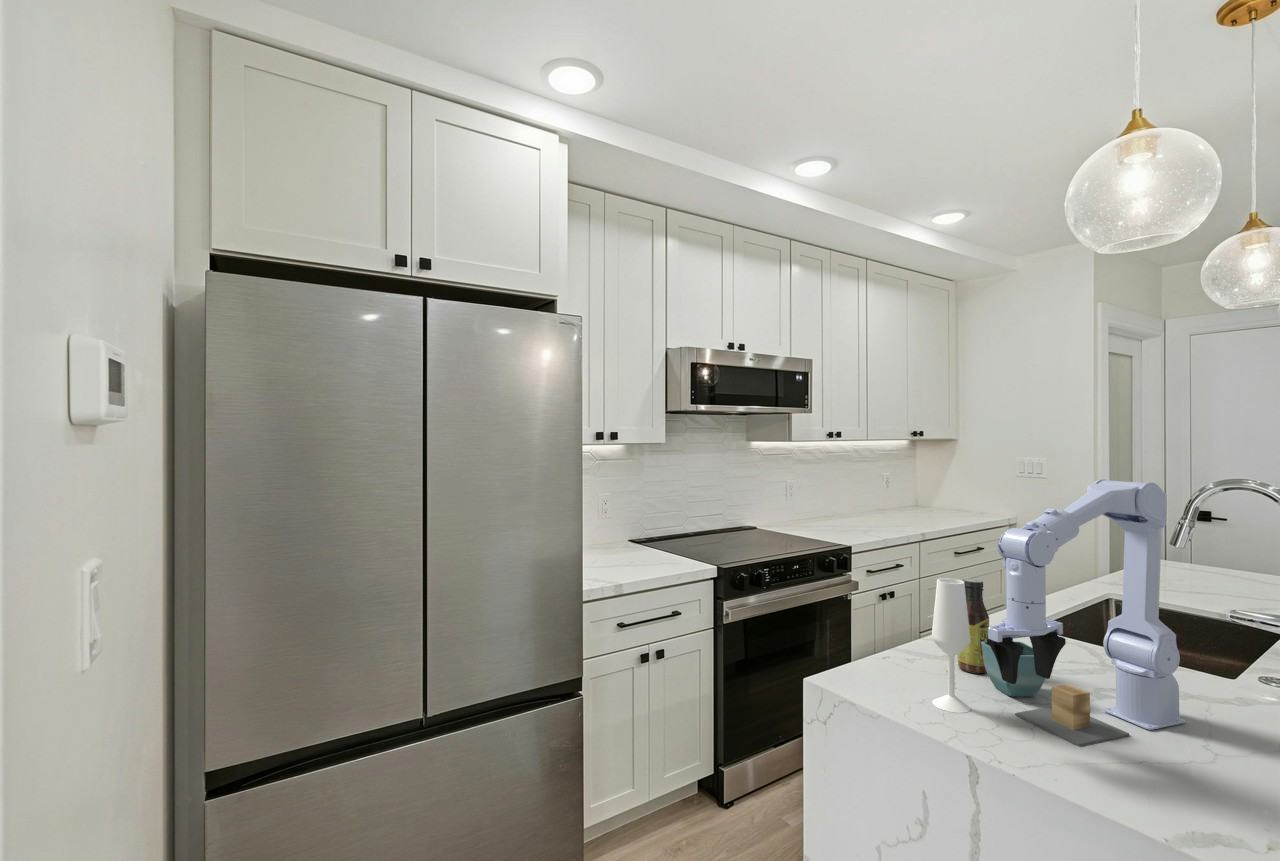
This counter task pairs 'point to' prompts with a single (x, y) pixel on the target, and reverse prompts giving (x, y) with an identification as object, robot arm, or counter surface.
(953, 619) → the champagne flute
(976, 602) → the sauce bottle
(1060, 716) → the oak block
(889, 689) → the counter surface
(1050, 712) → the mat
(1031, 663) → the flower pot
